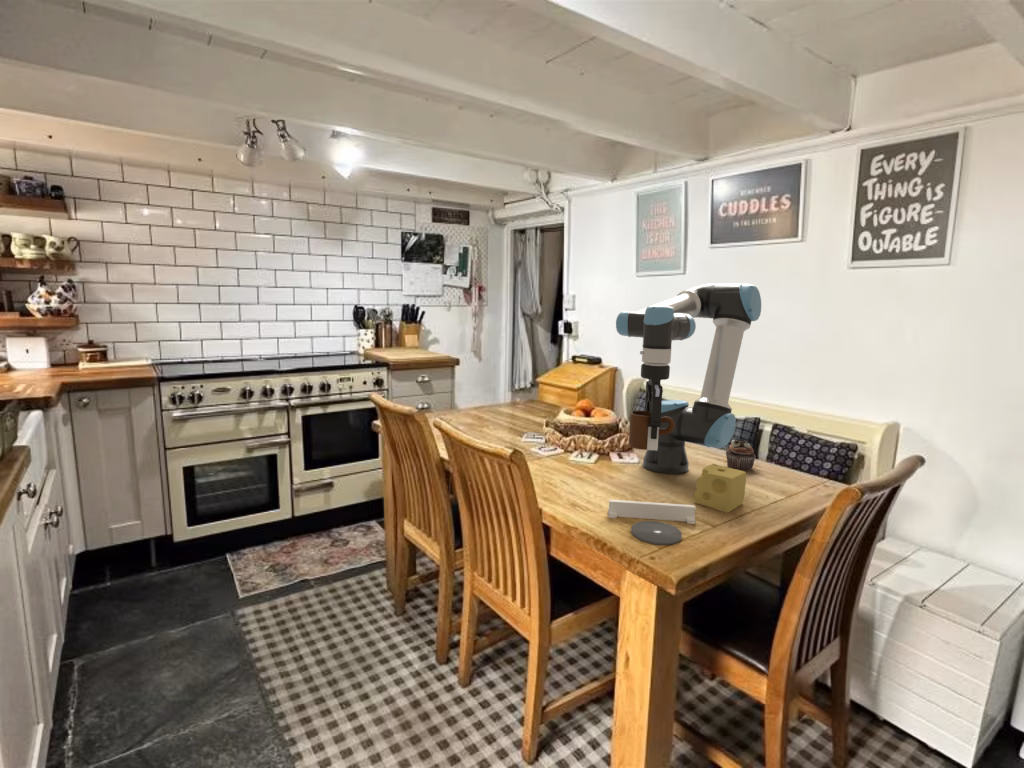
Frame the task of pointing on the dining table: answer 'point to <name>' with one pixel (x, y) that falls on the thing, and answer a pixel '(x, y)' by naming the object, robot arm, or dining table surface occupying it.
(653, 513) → the rail
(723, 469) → the cheese
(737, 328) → the robot arm
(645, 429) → the mug
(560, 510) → the dining table surface
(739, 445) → the cupcake
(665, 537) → the disc
